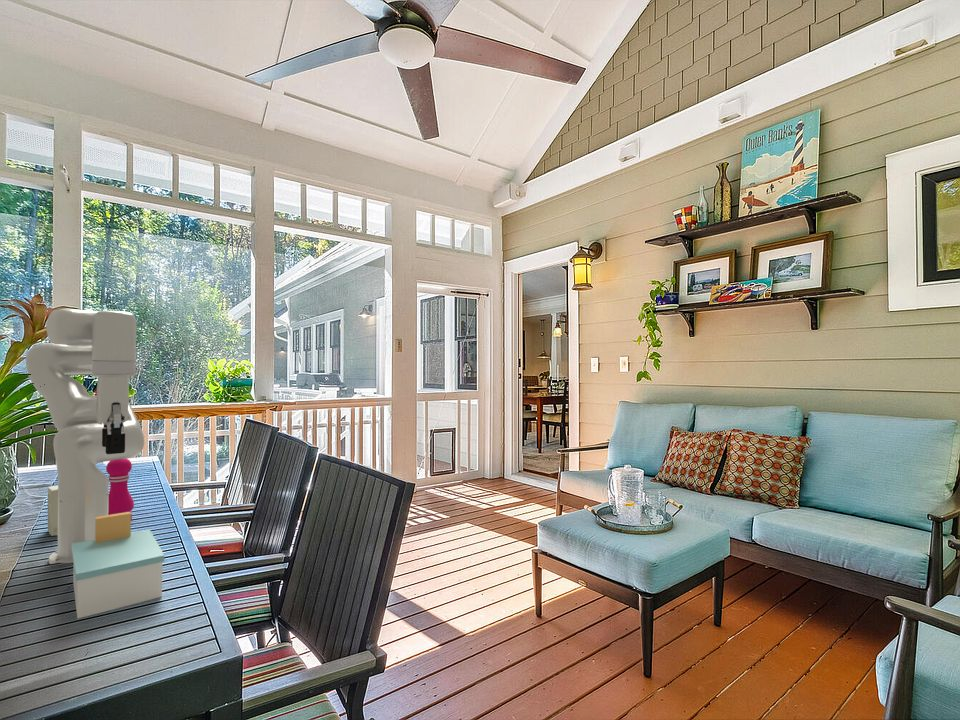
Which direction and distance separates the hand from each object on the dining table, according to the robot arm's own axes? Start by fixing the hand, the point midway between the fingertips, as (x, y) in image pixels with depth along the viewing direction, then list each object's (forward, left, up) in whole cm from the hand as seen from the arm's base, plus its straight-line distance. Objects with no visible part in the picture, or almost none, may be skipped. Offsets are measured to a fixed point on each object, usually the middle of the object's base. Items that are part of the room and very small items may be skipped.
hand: (113, 449), depth 106 cm
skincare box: (-45, -8, -29) cm, 54 cm away
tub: (+7, 0, -28) cm, 29 cm away
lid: (+7, 0, -22) cm, 23 cm away
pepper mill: (-45, +5, -29) cm, 53 cm away
